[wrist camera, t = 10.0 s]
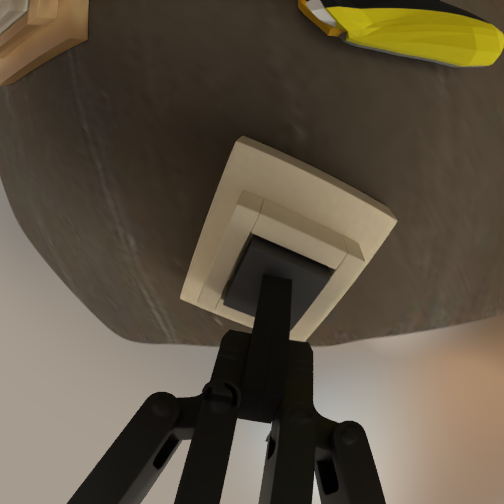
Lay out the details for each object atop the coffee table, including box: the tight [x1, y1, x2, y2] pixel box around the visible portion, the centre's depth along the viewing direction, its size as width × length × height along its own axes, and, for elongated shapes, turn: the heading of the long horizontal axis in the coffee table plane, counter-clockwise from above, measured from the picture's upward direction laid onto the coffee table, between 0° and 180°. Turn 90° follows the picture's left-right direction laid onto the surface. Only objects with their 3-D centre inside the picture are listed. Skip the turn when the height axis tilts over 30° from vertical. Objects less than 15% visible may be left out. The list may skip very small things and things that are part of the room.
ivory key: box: [0, 0, 30, 36], centre depth 6 cm, size 4×4×2 cm
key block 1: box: [0, 0, 89, 87], centre depth 8 cm, size 12×10×4 cm
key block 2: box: [180, 136, 397, 342], centre depth 17 cm, size 12×10×4 cm
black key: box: [223, 234, 330, 331], centre depth 16 cm, size 4×4×2 cm
